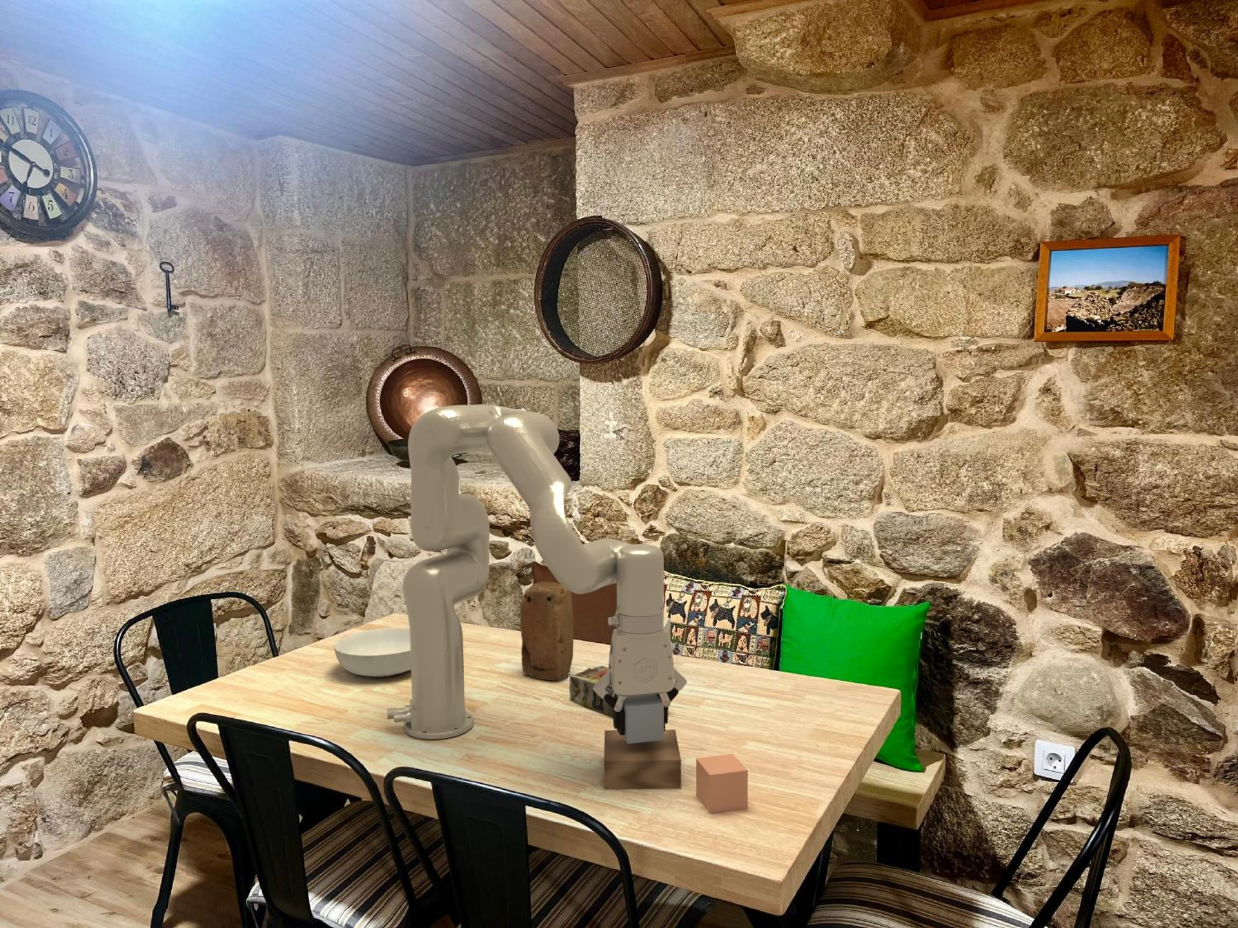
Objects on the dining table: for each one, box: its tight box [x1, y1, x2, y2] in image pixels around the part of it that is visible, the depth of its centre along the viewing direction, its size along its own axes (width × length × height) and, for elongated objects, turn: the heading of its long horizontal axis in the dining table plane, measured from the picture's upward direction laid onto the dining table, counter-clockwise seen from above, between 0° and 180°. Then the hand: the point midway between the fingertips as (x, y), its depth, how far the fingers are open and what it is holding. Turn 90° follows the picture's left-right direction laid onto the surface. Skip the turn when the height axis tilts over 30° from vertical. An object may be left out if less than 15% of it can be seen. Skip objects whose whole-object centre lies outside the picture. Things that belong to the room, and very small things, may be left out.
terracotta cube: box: [695, 753, 749, 814], centre depth 136 cm, size 6×6×6 cm
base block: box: [603, 729, 682, 790], centre depth 146 cm, size 12×12×5 cm
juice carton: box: [568, 665, 670, 718], centre depth 175 cm, size 20×10×6 cm, turn 44°
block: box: [519, 581, 574, 681], centre depth 193 cm, size 11×8×20 cm
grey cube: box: [622, 694, 664, 744], centre depth 146 cm, size 6×6×6 cm
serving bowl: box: [333, 627, 411, 678], centre depth 198 cm, size 21×21×7 cm
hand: (640, 728), depth 146 cm, fingers closed on grey cube, 6 cm apart
